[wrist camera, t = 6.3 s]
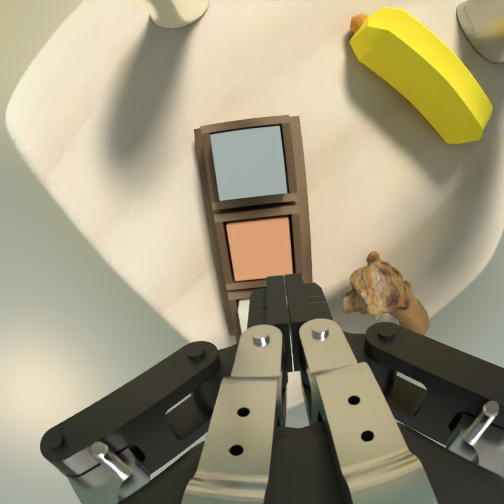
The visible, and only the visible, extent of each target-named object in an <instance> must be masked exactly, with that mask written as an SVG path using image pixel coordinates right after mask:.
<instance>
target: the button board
mask: <svg viewBox="0 0 504 504" xmlns="http://www.w3.org/2000/svg"><path fill="white" fill-rule="evenodd" d="M273 126H280V132H281V140H282V149H283V158H284V166H285V176H286V185H287V193H284V194H275V195H265V196H256V197H248V198H239V199H231V200H224V201H220V200H219V193H218V187H217V180H216V173H215V166H214V159H213V152H212V145H211V138H210V135H212V134H218V133H224V132H231V131H238V130H246V129H254V128H263V127H273ZM200 127H201V128H199V129H194V134H195V141H196V148H197V155H198V162H199V169H200V175H201V182H202V188H203V194H204V201H205V207H206V213H207V219H208V225H209V230H210V236H211V242H212V247H213V253H214V258H215V263H216V269H217V274H218V279H219V284H220V290H221V295H222V300H223V305H224V309H225V314H226V319H227V324H228V329H229V333H230V335H235V336H236V341H237V343H239V341H240V337H241V335H242V331H241V326H240V320H239V315H238V308H239V300H240V299H248V298H250V295H251V294H252V293H253V291H254V290H255V289H259V288H267V278H262V279H251V280H241V281H235V276H234V270H233V264H232V258H231V252H230V246H229V239H228V233H227V227H226V225H227V223H228V221H232V220H241V219H250V218H258V217H268V216H277V215H287V217H288V220H289V232H290V244H291V256H292V270H293V274H295V273H301V274H302V278H303V281H304V284H306V283H312V259H311V240H310V223H309V209H308V196H307V184H306V173H305V163H304V153H303V144H302V135H301V127H300V119H299V116H294V117H289V115H283V116H272V117H262V118H253V119H245V120H237V121H230V122H224V123H217V124H211V125H206V126H200ZM283 277H284V285H285V276H283ZM285 292H286V285H285Z"/></svg>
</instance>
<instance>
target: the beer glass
mask: <svg viewBox="0 0 504 504" xmlns="http://www.w3.org/2000/svg"><path fill="white" fill-rule="evenodd" d="M135 1H137V2H139V3H141V4H143V5H144V6H145V7H146V8H147V9H148V11H149V13H150V16H151V18H152V20H153V22H154V23H155V24H157V25H158V26H160V27H163V28H180V27H183V26H186V25H189V24H191V23H193V22H194V21H196V20H197V19H199V18H200V17H201V16H202V15H203V14H204V13H205V11H206V9H207V7H208V4H209V0H135Z"/></svg>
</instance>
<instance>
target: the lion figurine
mask: <svg viewBox="0 0 504 504" xmlns="http://www.w3.org/2000/svg"><path fill="white" fill-rule="evenodd" d="M368 259H369V261H370V263H369V264H368V266H365V267H363V268H360V269H359V270H356V271H355V272H354V273H352V274H351V277H350V283H351V285H352V287H353V289H352V290H351V291H349V292H348V293H346V294H345V298H344V299H343V312H344V313H350V312H355V311H358V312H359V313H362V314H366V313H368V314H370V315H372V316H373V318H374V319H376V320H379V318H380V316H381V315H382V314H384V313H387V312H389V313H390V314H391V315H392V316H394V317H395V318H397V319H398V320H399V325H400V326H402V327H404V328H406V329H409V330H411V331H414V332H416V333H418V334H421V335H423V336H424V335H425V333H426V330H427V329H428V327H429V317H428V314H427V312H426V310H425V309H424V307H423V305H422V304H421V303H420V302H419V301H418V300H417V299H416V298H415V297H414V295H413V294H412V292H411V289H410V283H409V282H408V281H405V282H404V281H403V278H402V275H401V273H400V272H399V271H398V270H397V269H396V268H394V267H392V266H391V265H390V264H388V263H387V262H384V261H383V260H381V259H380V258H379V254H378V253H377V252H371V253H370V254H369V256H368Z"/></svg>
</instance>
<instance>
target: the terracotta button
mask: <svg viewBox="0 0 504 504" xmlns="http://www.w3.org/2000/svg"><path fill="white" fill-rule="evenodd" d="M226 227H227V233H228V239H229V246H230V252H231V258H232V264H233V270H234V276H235V281H241V280H251V279H262V278H267V277H268V276H277V275H283V276H285V275H286V274H293V270H292V256H291V244H290V232H289V220H288V217H287V215H277V216H268V217H258V218H250V219H241V220H232V221H228V223H227V225H226Z"/></svg>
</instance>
